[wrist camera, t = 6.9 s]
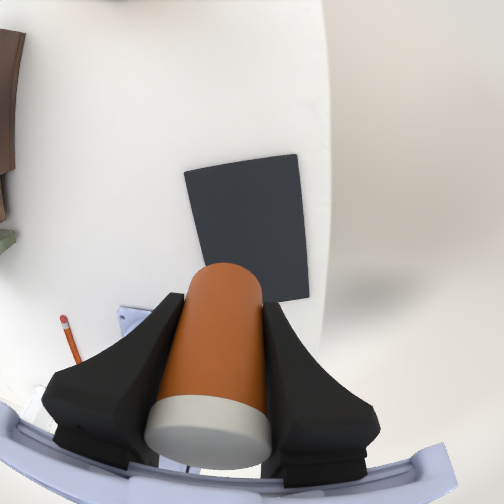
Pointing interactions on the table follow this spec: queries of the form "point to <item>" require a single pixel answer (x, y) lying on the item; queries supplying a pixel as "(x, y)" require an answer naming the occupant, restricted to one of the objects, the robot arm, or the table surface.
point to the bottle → (215, 376)
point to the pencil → (70, 339)
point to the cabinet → (8, 94)
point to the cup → (36, 410)
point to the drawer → (5, 238)
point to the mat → (254, 221)
